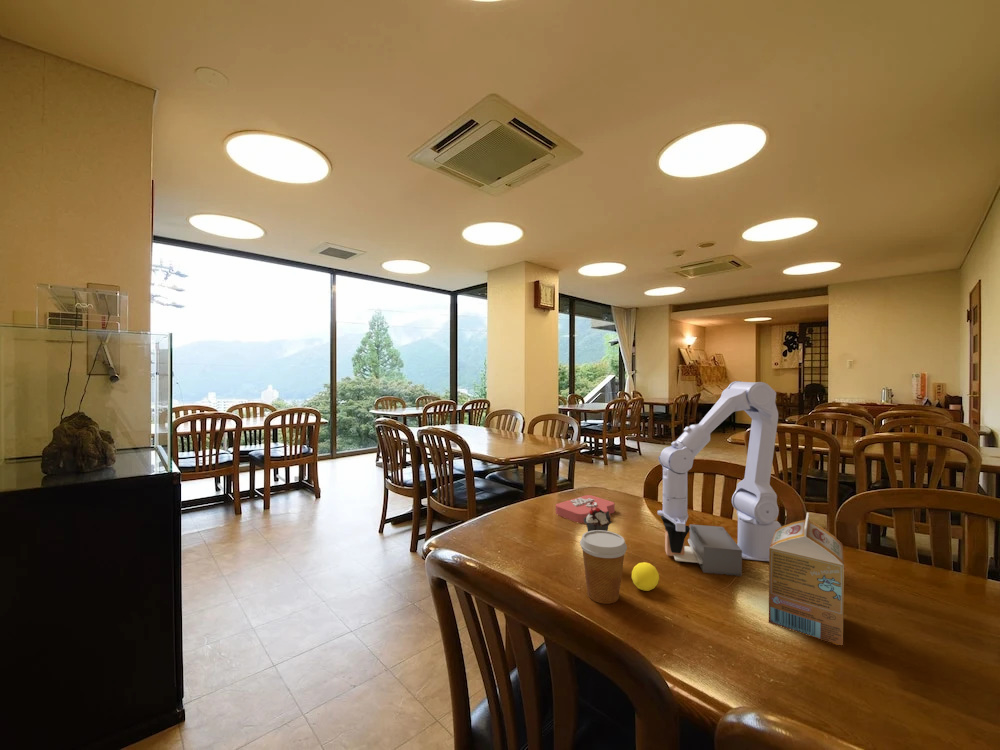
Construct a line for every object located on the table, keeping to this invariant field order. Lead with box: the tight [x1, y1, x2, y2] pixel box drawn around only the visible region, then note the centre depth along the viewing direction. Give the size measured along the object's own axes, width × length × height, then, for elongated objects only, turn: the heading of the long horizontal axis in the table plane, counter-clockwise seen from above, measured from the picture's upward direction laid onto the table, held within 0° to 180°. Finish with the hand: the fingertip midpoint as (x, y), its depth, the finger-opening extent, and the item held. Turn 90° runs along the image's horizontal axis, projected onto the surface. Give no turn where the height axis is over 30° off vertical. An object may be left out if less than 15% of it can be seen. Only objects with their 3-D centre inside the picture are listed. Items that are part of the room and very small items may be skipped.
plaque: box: [555, 494, 616, 524], centre depth 132 cm, size 18×4×15 cm
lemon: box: [631, 561, 660, 592], centre depth 87 cm, size 7×5×5 cm
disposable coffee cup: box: [579, 530, 628, 605], centre depth 84 cm, size 10×10×12 cm
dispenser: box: [687, 523, 743, 577], centre depth 100 cm, size 9×14×6 cm, turn 167°
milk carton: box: [768, 512, 845, 646], centre depth 76 cm, size 11×11×19 cm
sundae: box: [583, 502, 612, 532], centre depth 99 cm, size 7×7×15 cm
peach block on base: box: [664, 530, 699, 564], centre depth 101 cm, size 14×8×5 cm, turn 77°
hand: (674, 549), depth 102 cm, fingers closed on peach block on base, 3 cm apart
